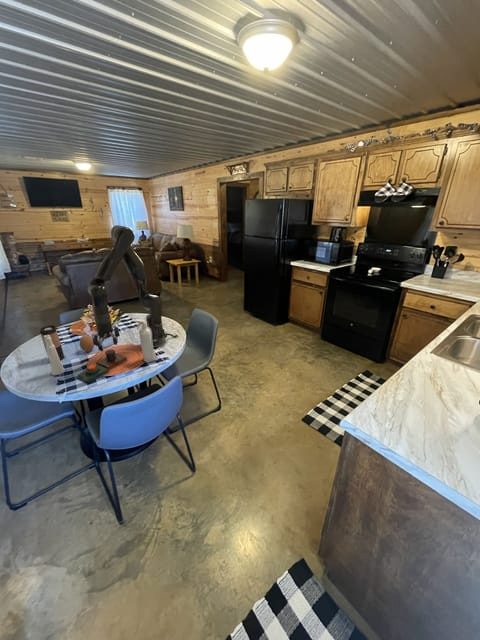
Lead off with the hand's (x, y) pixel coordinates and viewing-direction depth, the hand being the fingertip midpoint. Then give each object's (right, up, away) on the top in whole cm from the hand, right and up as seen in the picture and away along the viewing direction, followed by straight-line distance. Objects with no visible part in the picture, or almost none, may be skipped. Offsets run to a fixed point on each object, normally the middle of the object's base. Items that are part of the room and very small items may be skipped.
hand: (108, 347), depth 146 cm
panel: (0, -9, +4) cm, 10 cm away
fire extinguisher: (+21, -8, +8) cm, 23 cm away
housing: (-5, -14, -7) cm, 16 cm away
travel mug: (-34, -8, +8) cm, 36 cm away
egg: (-21, -4, +17) cm, 27 cm away
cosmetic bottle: (-25, -13, -4) cm, 28 cm away
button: (-5, -11, -8) cm, 14 cm away
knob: (0, -7, +3) cm, 8 cm away
